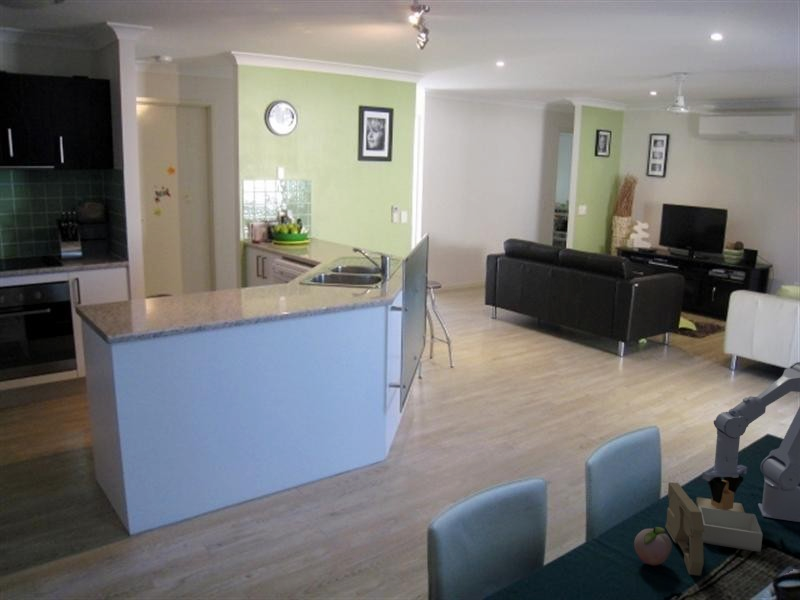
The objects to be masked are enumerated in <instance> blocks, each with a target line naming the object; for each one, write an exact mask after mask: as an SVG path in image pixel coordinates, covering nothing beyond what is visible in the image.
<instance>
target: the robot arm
mask: <svg viewBox="0 0 800 600" xmlns="http://www.w3.org/2000/svg"><path fill="white" fill-rule="evenodd" d="M791 392H797V393H800V361H797V362H794V363H792V364H791V365H790V366H789V367H787V368H785V369H784V370H783V373H782V375H781V376H780V377H779V378H778V379H776V380H775V381H774V382H772V383H771V384H770V385H769V386H768V387H767V388H766V389H764V390H763V391H762V392H761V393H759V394H758V395H757V396H753V395H751V396H748V397H744V398H743V399H742V401H741V402H739V403H738V404H737V405H736V406H734V407H733V408H730V409H729V410H728V411H723V412H721V413H719V414H718V415H717V416H716V418H715V419H714V420H713V424H714V427H715V428H716V444H715V454H714V455H715V456H714V466H713V467H711V468H709V469H708V470H706V471H703V472H702V480H704V481H706V482H707V484H708V486H709V488H710V492H711V499H712V498H713V501H715V502H717V503H720V502H721V498H722V492H723V489H724V487H725V485H726V484H727V483H725V482H724V481H722V480H726V481H728V482H729V487H728V489H729V490H731V491H733V492H735V493H734V496H735V494H736V492H737V490H738V488H740V487H739V486H740V485H741V484H742V483H743V482H744V477H743V476H741V475H740V474H743V475H747V472H748V467H747V466H745V465H743V464H738V461H739V450H740V441H741V436H743V435H744V434H745V433H746V430H747V427H749V425H750V424H752V423H753V422H755V421H756V420H757V419H759V418H760V417H762V416H763V415H764V414H765V413H766V410H767V409H766V408H767V406H769V405H771V404H773V403H774V402H775V401H778V400H779V399H781V398H782V397H785V396H786V395H787V394H789V393H791ZM759 468H760V471H761V473H762V474H763V479H764V483H763V493H762V503H758V504H757V506H758V508H759V511H760V513H761V516H762V517H763V518H770V519H776V520H783V521H791V522H795V523H797V522H798V523H800V486H799V484H800V406H799V407H798V409H797V411H796V413H795V415H794V418H793V419H792V421H791V423H790V425H789V427H788V430H787V431H786V433H785V434H784V436H783V439H782V441H781V443H780V445H779V447H778V448H775V449H772V450H770V451H769V454H768V455H767V456H766V457H765V458H763V460H762V461H761V463H760V467H759ZM722 478H723V479H722Z"/></svg>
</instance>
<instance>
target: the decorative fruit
mask: <svg viewBox="0 0 800 600" xmlns="http://www.w3.org/2000/svg"><path fill="white" fill-rule="evenodd" d="M665 529H666V528H663V527H660V526H655V527H653V528H644V529H641V531H639V532H638V533H637V535H636V536H635V538H634V542H633V546H634V547H633V548H634V550H635V552H636V554H637V556H638V557H639V559H640V560H641V561H642V562H644V563H645V564H646V565H648V566H649V565H650V566H653V567H654V566H659V565H662V564H663V563H664V562H665V561H666V559H667V558H669V556H670V553H671V551H672V546H673V545H672V541H671V539H670V537H669V535H668V534H666V530H665Z"/></svg>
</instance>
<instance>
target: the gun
mask: <svg viewBox="0 0 800 600" xmlns="http://www.w3.org/2000/svg"><path fill="white" fill-rule="evenodd" d="M667 490H668V491H667V498H668V499H669V501H668V507H667V509H666V522H665V525H664V527H665V528H664V529H666V531H667V534H668V535H669V536H670V537H671V539H672V541H673V542H674V544H675V545H678V546H679V548H680V549H681V551H682V553H683V562H684V564H685V567H686V570H687V573H688V575H689V576H690V575H691V576H702V572H703V567H704V543H703V539H702V538H701V537H702V532H704V524H703V519H702V513H701V511H700V510H699V509H698V507H697V504H696V503H695V502H694V501H693V499H692V498H690V496H689V495H688V494H687V492H685V490H684V489H683V488H682V487H681V485H680V484H679V482H670V481H669V482H668V488H667Z"/></svg>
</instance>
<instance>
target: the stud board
mask: <svg viewBox="0 0 800 600" xmlns="http://www.w3.org/2000/svg"><path fill="white" fill-rule="evenodd" d="M711 499H712V498H706V497H698V496H697V497H696V500H695V501H696V503H695V504H696V506H697V507H699V506H702V507H709V508H715V509H718V508H717V507H715V506H713V505H711ZM728 510H729V511H736V512H743V513H746V512H745V510H744V507H743V504H742V503H740V502H734V503H733V508H732V509H728Z"/></svg>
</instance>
